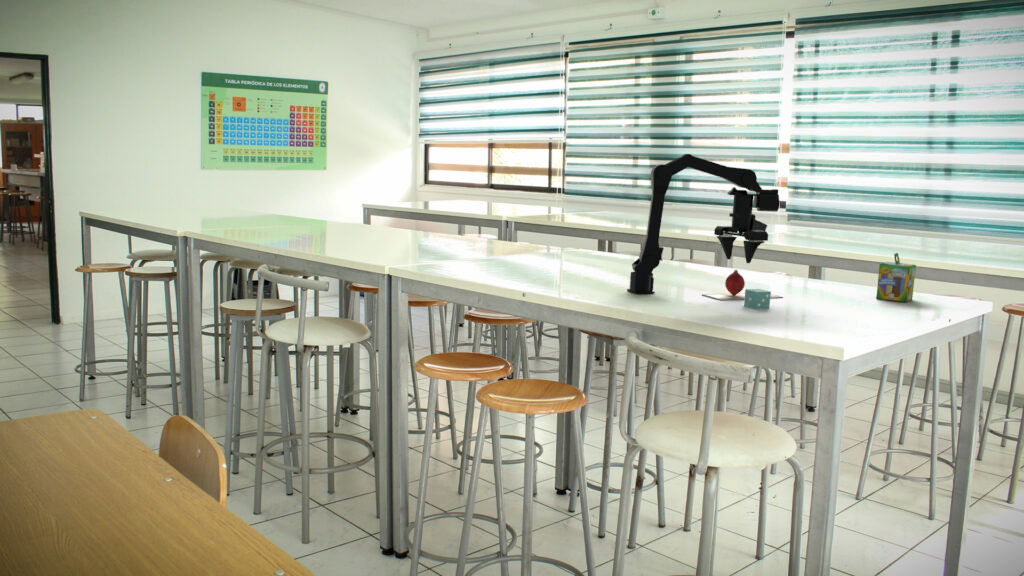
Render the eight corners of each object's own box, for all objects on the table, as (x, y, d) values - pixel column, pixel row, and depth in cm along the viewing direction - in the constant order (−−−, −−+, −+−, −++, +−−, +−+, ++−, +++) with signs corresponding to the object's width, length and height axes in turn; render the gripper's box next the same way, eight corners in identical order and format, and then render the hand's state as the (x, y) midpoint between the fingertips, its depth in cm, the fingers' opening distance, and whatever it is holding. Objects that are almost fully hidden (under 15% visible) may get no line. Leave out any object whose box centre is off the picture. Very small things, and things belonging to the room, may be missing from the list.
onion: (744, 297, 242) (746, 271, 241) (725, 296, 244) (727, 270, 242) (742, 294, 248) (744, 269, 247) (723, 293, 249) (725, 268, 248)
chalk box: (906, 303, 247) (911, 256, 245) (875, 299, 253) (880, 253, 250) (913, 299, 254) (918, 254, 252) (882, 296, 260) (888, 251, 257)
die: (755, 309, 226) (756, 292, 225) (743, 306, 231) (745, 289, 230) (769, 308, 228) (771, 291, 227) (757, 305, 232) (759, 288, 232)
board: (720, 300, 238) (720, 299, 238) (702, 295, 246) (702, 294, 246) (782, 297, 247) (782, 296, 247) (763, 293, 256) (763, 291, 256)
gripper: (784, 212, 236) (780, 264, 239) (743, 208, 253) (739, 257, 255) (754, 212, 232) (750, 265, 234) (715, 208, 249) (711, 257, 251)
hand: (738, 261), depth 244 cm, fingers open, 9 cm apart
